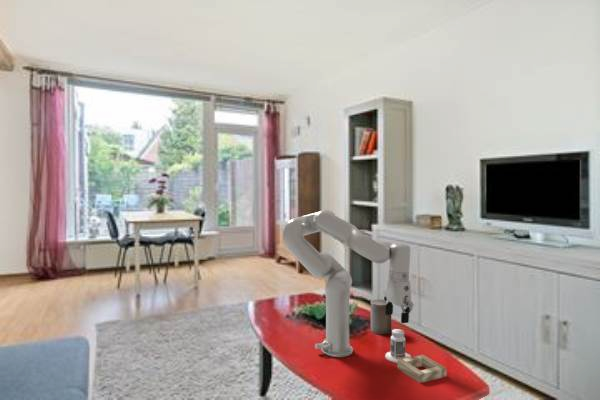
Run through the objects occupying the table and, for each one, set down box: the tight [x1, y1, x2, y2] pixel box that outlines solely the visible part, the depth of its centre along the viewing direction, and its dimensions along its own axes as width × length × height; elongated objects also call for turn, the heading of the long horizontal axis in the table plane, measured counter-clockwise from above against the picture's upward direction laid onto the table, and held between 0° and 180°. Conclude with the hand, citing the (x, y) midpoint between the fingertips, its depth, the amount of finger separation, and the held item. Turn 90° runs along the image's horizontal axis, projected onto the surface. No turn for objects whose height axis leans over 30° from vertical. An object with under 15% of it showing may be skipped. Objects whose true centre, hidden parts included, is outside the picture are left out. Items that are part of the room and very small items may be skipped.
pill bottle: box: [389, 328, 406, 359], centre depth 150 cm, size 6×6×10 cm
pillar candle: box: [370, 298, 392, 335], centre depth 179 cm, size 10×10×15 cm
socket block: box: [396, 354, 447, 384], centre depth 138 cm, size 12×12×3 cm
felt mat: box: [384, 351, 412, 364], centre depth 150 cm, size 10×10×1 cm
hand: (396, 318), depth 150 cm, fingers open, 9 cm apart
